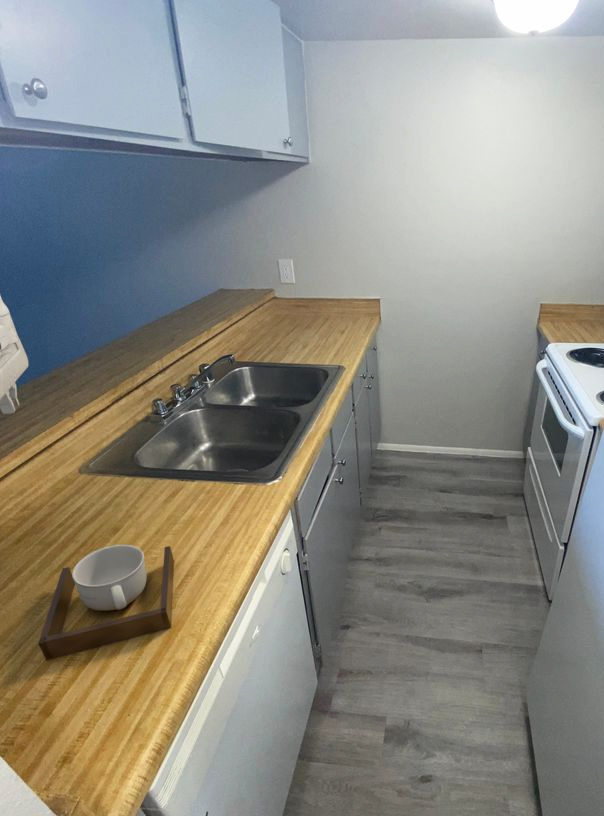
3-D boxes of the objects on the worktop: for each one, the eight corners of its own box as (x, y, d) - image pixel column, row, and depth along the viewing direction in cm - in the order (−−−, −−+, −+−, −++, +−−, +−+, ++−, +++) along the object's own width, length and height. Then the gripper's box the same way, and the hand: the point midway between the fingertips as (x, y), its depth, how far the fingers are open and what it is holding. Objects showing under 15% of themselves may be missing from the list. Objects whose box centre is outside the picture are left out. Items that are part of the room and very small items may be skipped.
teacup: (87, 584, 88) (75, 552, 85) (151, 567, 93) (142, 535, 89) (80, 643, 77) (66, 608, 74) (153, 620, 82) (143, 586, 78)
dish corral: (46, 660, 74) (38, 643, 73) (68, 583, 88) (62, 568, 86) (171, 627, 81) (166, 611, 79) (174, 561, 95) (170, 545, 93)
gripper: (-20, 318, 84) (8, 390, 90) (-72, 354, 67) (-33, 439, 73) (23, 316, 86) (47, 386, 92) (-17, 350, 69) (16, 433, 76)
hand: (11, 410), depth 83 cm, fingers closed
